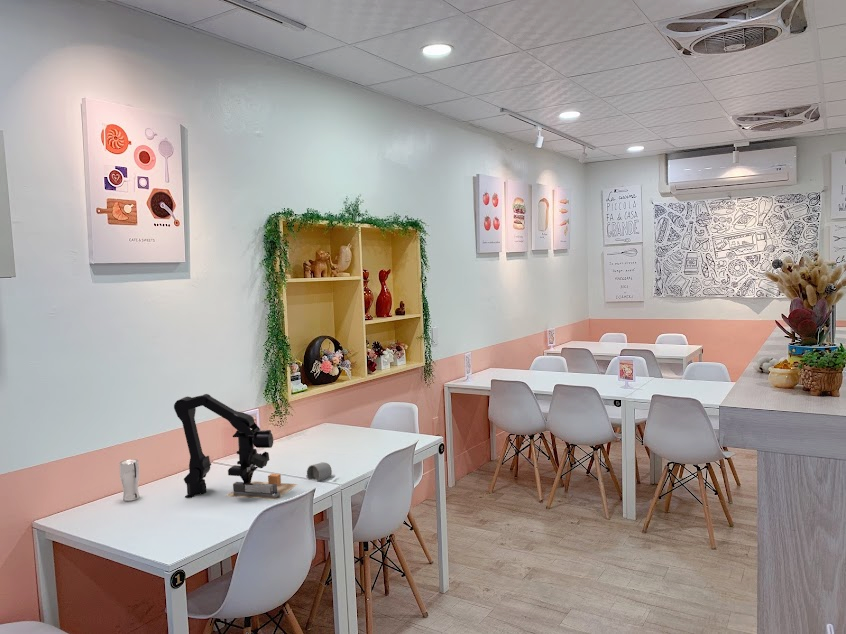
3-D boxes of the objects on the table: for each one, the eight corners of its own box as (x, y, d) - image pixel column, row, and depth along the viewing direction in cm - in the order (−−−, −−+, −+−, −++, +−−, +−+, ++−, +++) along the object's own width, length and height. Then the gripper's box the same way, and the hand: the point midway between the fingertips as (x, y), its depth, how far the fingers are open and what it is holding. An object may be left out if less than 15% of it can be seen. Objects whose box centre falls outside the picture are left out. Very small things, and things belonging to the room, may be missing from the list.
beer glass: (133, 502, 252) (131, 464, 251) (117, 501, 254) (115, 464, 253) (144, 496, 259) (142, 459, 258) (129, 495, 261) (126, 458, 260)
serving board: (225, 499, 253) (225, 496, 253) (249, 483, 270) (249, 481, 270) (277, 502, 248) (276, 499, 247) (297, 486, 265) (297, 484, 265)
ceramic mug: (333, 479, 273) (332, 461, 273) (319, 485, 266) (318, 466, 266) (315, 475, 279) (314, 458, 279) (301, 481, 273) (300, 463, 272)
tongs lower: (281, 495, 252) (281, 483, 251) (277, 498, 248) (276, 486, 248) (237, 492, 256) (237, 480, 256) (232, 495, 253) (232, 483, 253)
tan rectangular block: (268, 485, 264) (268, 475, 263) (272, 483, 267) (271, 473, 266) (277, 486, 263) (277, 476, 262) (280, 483, 266) (280, 474, 265)
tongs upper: (273, 491, 252) (273, 484, 252) (270, 493, 249) (270, 486, 249) (236, 488, 256) (236, 481, 256) (233, 491, 253) (232, 483, 253)
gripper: (252, 455, 244) (254, 496, 245) (276, 442, 262) (277, 479, 263) (226, 454, 247) (228, 494, 248) (251, 440, 265) (253, 478, 266)
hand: (248, 486), depth 256 cm, fingers closed
